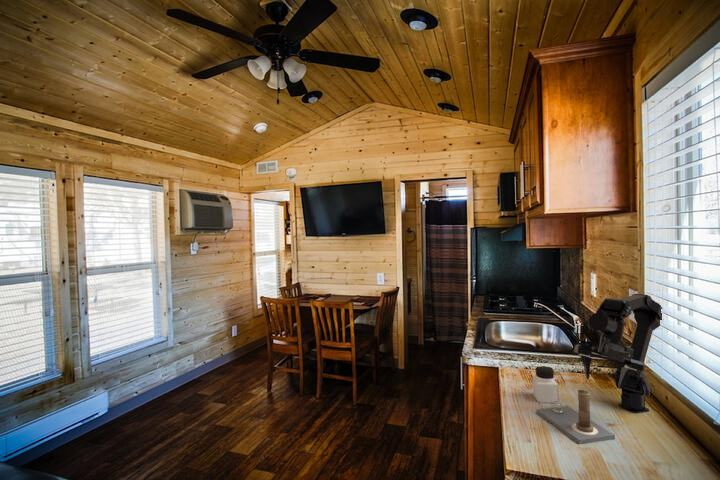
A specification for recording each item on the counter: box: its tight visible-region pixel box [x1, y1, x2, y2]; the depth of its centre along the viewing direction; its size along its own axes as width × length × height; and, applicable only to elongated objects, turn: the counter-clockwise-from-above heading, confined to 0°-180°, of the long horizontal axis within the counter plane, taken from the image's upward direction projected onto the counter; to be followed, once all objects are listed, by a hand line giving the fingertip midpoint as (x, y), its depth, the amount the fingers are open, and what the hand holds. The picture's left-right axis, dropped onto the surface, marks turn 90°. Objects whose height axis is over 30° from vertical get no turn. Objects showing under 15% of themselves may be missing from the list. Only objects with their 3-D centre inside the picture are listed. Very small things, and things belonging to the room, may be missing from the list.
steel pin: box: [552, 400, 563, 414], centre depth 129 cm, size 3×3×3 cm
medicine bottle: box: [532, 365, 559, 404], centre depth 141 cm, size 7×7×12 cm
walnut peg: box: [576, 389, 593, 432], centre depth 117 cm, size 5×5×12 cm
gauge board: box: [536, 405, 616, 445], centre depth 122 cm, size 12×20×1 cm, turn 10°
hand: (603, 383), depth 122 cm, fingers open, 9 cm apart
